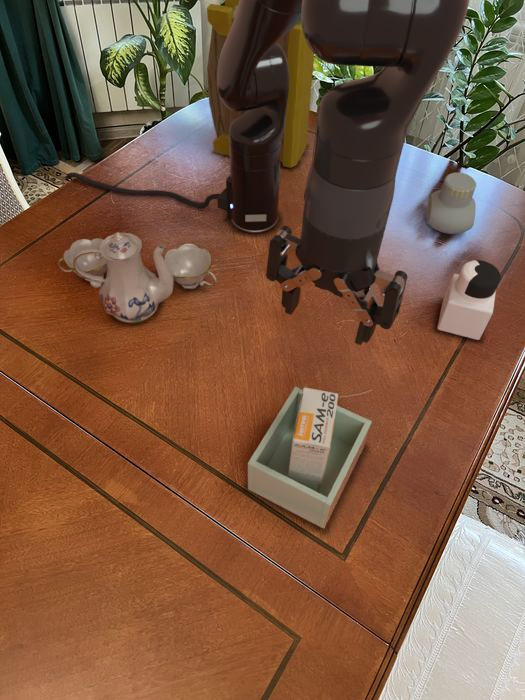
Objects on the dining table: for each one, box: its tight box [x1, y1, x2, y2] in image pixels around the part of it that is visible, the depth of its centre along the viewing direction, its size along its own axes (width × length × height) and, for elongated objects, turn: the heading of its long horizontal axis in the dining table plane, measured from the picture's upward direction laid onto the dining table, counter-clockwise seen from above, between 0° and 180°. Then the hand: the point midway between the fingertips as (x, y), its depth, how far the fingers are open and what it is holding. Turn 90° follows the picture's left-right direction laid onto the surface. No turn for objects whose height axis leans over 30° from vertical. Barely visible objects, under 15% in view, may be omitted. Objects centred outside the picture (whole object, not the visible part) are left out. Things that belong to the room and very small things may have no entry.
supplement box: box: [288, 387, 339, 493], centre depth 75 cm, size 8×5×13 cm, turn 168°
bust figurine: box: [437, 259, 502, 341], centre depth 94 cm, size 7×7×12 cm
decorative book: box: [206, 0, 315, 169], centre depth 118 cm, size 20×11×30 cm, turn 69°
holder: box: [247, 386, 373, 530], centre depth 78 cm, size 12×14×8 cm
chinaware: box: [57, 231, 218, 324], centre depth 96 cm, size 28×17×17 cm, turn 91°
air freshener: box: [425, 172, 477, 235], centre depth 111 cm, size 11×8×10 cm
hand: (325, 323), depth 64 cm, fingers open, 8 cm apart
